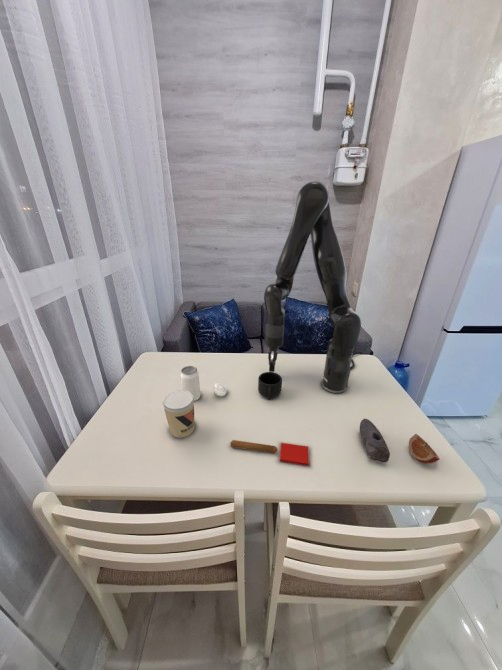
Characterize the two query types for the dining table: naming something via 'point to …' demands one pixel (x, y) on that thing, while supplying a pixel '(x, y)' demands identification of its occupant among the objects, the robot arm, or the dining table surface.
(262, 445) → the spatula
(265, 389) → the mug
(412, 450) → the fruit slice
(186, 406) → the beige lidded canister
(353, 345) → the robot arm
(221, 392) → the dumpling
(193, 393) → the can
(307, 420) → the dining table surface
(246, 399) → the dining table surface
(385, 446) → the perforated stone tool
